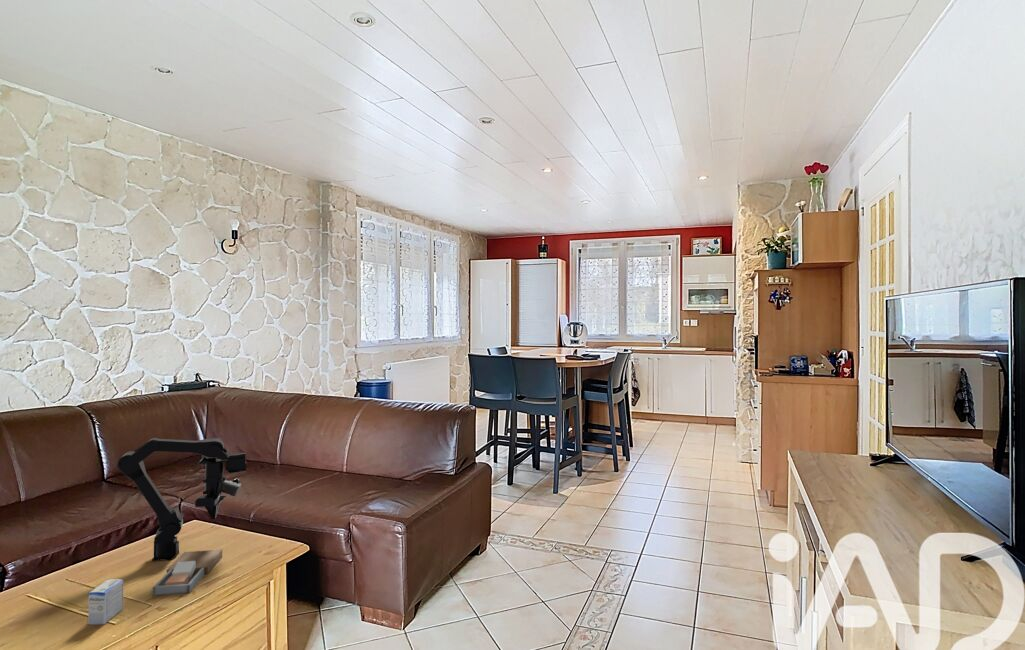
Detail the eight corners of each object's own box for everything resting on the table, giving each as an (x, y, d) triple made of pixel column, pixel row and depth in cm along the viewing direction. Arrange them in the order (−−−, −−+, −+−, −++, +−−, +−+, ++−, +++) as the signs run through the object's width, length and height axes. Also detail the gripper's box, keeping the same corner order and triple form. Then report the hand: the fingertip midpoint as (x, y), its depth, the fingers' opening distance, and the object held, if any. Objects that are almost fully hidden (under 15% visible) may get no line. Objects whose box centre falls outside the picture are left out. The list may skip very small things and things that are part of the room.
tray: (152, 595, 164) (152, 587, 164) (170, 577, 176) (170, 569, 176) (189, 593, 166) (189, 584, 166) (204, 575, 178) (204, 567, 178)
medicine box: (106, 610, 156) (107, 579, 156) (123, 609, 156) (123, 578, 156) (87, 625, 148) (88, 592, 148) (105, 624, 148) (105, 592, 148)
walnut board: (166, 577, 176) (166, 569, 176) (184, 559, 190) (184, 551, 190) (207, 574, 178) (207, 567, 178) (222, 556, 192) (222, 549, 192)
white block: (172, 579, 172) (172, 573, 171) (178, 568, 177) (177, 562, 176) (190, 578, 173) (189, 571, 172) (196, 567, 178) (195, 560, 177)
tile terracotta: (165, 591, 166) (165, 582, 166) (171, 583, 171) (171, 575, 171) (183, 589, 168) (183, 581, 168) (189, 582, 172) (189, 573, 172)
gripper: (230, 481, 190) (229, 527, 190) (246, 467, 208) (245, 509, 208) (194, 482, 188) (194, 528, 188) (214, 468, 206) (213, 510, 206)
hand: (213, 518), depth 198 cm, fingers closed
